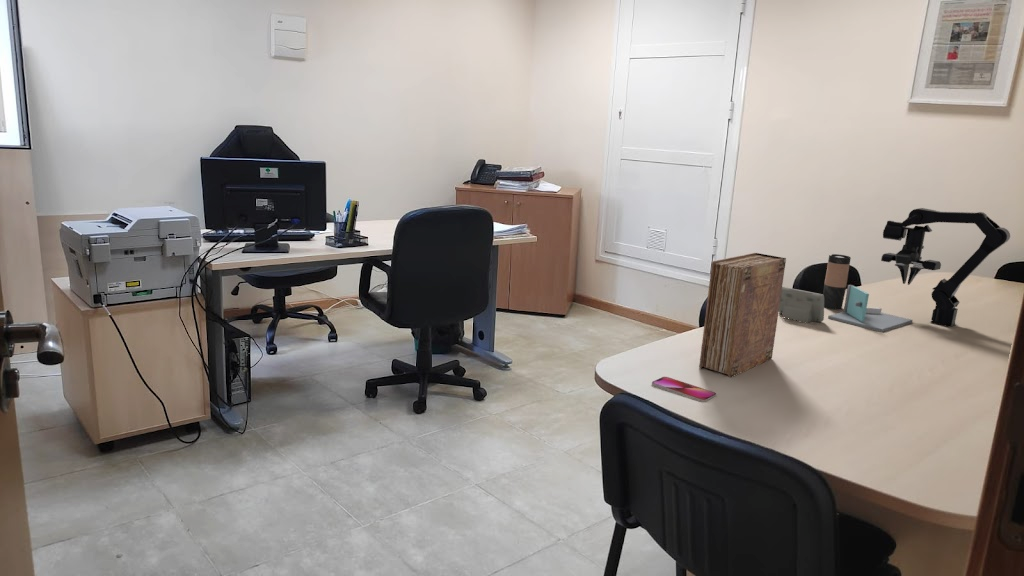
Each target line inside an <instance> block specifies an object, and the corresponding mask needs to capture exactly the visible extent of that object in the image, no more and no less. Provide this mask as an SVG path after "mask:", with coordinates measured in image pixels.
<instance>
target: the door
mask: <svg viewBox="0 0 1024 576" xmlns="http://www.w3.org/2000/svg"><path fill="white" fill-rule="evenodd" d="M869 296H870V294H869V293H868V292H865V290H862V289H860V288H858V287H857V286H855V285H853V284H847V287H846V293H845V299H844V305H843V306H844V307H843V311H844V312H847V313H848V314H850V315H852V316H853V317H855V318H856V319H858V320H860V321H861V322H864V320H865V314H866V309H867V307H868V302H869Z"/></svg>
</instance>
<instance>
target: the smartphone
mask: <svg viewBox="0 0 1024 576" xmlns="http://www.w3.org/2000/svg"><path fill="white" fill-rule="evenodd" d="M651 387H654V388H658V389H661V390H664V391H668V392H670V393H673V394H676V395H679V396H683V397H686V398H688V399H689V398H690V399H692V400H695V401H698V402H703V403H704V402H705V403H706V402H708V401H710V400H711V399H713V398H715V397H716V396H717V392H715V391H712V390H709V389H706V388H702V387H700V386H696V385H693V384H690V383H687V382H684V381H682V380H678V379H676V378H671V377H669V376H662V377H660V378H658V379H656V380H653V381H652V382H651Z"/></svg>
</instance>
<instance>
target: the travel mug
mask: <svg viewBox="0 0 1024 576" xmlns="http://www.w3.org/2000/svg"><path fill="white" fill-rule="evenodd" d="M851 259H852V258H851V256H849V255H846V254H845V255H844V254H839V253H838V254H835V253H832V254H831V255H829V254H828V261H827V265H826V268H827V269H826V273H825V276H824V277H825V279H824V285H823V293H822V295H823V296H824V309H825V308H826V309H830V310H842V308H843V306H844V305H843V304H844V301H845V296H846V291H847V286H848V284H847V283H848V278H849V270H850V265H851Z"/></svg>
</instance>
